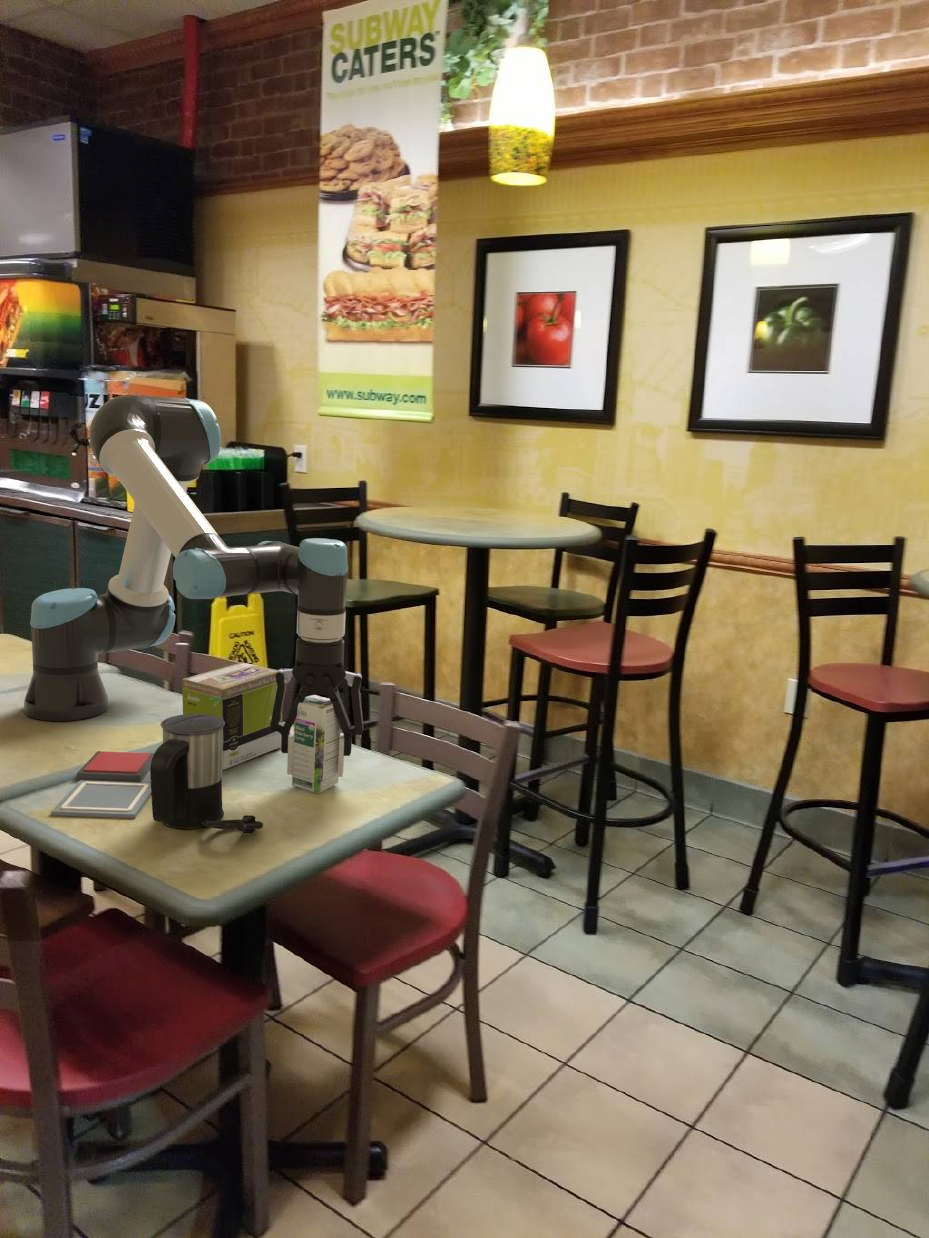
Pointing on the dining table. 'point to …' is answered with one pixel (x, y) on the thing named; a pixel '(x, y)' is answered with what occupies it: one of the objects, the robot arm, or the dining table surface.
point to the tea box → (237, 708)
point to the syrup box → (315, 745)
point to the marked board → (104, 799)
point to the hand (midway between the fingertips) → (315, 772)
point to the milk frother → (192, 775)
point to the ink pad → (116, 767)
